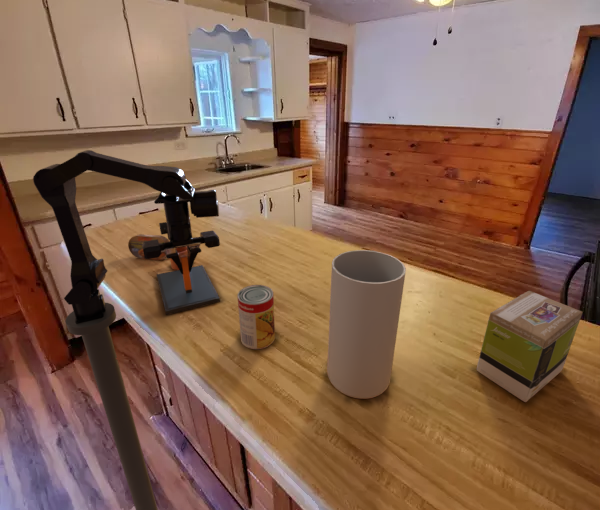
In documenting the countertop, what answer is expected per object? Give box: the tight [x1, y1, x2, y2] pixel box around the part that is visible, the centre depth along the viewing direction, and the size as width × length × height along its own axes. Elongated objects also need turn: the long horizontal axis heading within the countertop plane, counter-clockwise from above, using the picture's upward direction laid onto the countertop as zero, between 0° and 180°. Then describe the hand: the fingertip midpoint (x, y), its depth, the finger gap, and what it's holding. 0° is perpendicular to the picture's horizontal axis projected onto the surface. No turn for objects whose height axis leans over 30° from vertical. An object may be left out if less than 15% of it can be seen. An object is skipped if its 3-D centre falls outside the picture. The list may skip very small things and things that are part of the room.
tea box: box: [476, 290, 584, 403], centre depth 66 cm, size 15×10×15 cm
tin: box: [127, 233, 170, 261], centre depth 116 cm, size 15×3×8 cm, turn 80°
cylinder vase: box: [326, 249, 407, 400], centre depth 63 cm, size 12×12×25 cm
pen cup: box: [169, 246, 187, 271], centre depth 111 cm, size 6×6×6 cm
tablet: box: [156, 264, 221, 316], centre depth 98 cm, size 14×22×1 cm, turn 27°
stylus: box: [180, 255, 192, 294], centre depth 92 cm, size 2×2×11 cm
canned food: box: [236, 284, 276, 350], centre depth 76 cm, size 8×8×12 cm
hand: (185, 272), depth 91 cm, fingers closed on stylus, 1 cm apart
